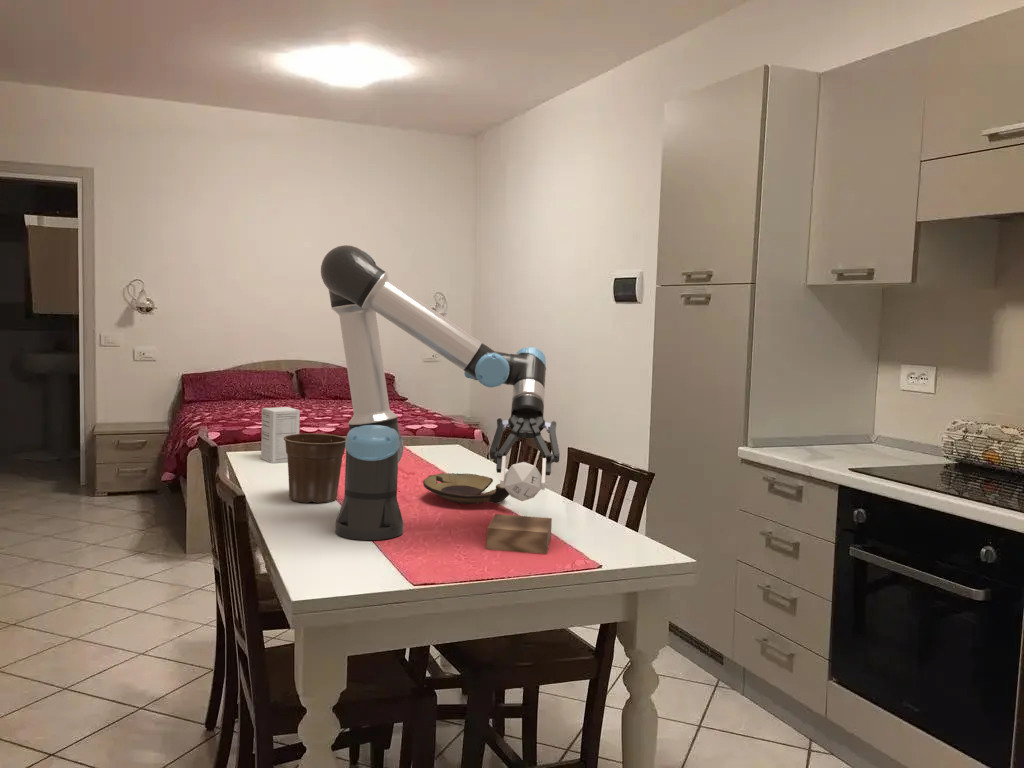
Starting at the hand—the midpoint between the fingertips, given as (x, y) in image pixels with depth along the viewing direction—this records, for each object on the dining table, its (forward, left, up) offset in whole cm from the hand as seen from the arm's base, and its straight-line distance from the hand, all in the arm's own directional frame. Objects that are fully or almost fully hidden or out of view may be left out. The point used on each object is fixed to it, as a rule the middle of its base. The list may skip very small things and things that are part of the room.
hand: (522, 485), depth 178 cm
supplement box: (-81, +85, -14) cm, 119 cm away
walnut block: (0, +3, -14) cm, 15 cm away
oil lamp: (-15, +40, -14) cm, 45 cm away
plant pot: (-55, +34, -14) cm, 66 cm away
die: (0, +3, -4) cm, 5 cm away
